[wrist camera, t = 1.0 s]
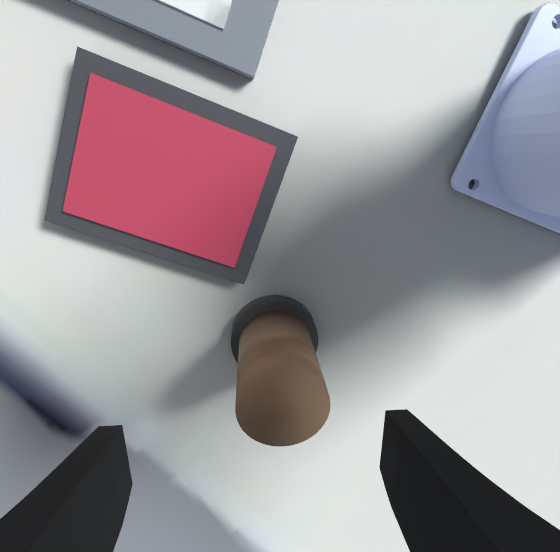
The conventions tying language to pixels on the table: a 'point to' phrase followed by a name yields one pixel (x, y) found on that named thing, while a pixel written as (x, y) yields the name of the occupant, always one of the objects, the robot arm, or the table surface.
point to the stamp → (278, 372)
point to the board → (199, 26)
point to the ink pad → (164, 169)
